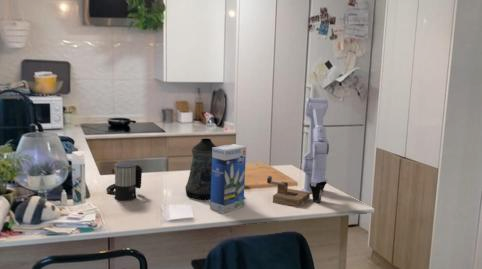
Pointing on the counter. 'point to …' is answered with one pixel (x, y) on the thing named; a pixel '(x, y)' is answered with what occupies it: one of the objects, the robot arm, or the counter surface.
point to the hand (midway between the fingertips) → (316, 198)
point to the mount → (290, 195)
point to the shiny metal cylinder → (318, 198)
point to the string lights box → (227, 177)
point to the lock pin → (269, 180)
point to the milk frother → (126, 181)
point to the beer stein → (200, 171)
